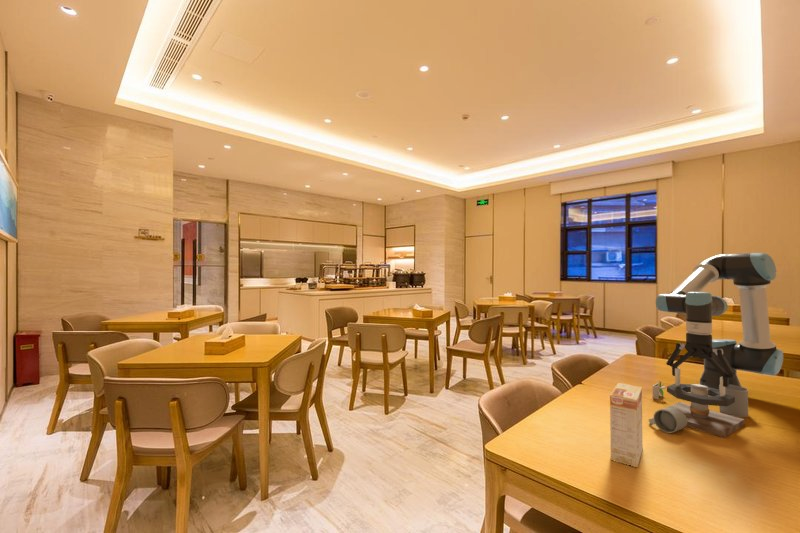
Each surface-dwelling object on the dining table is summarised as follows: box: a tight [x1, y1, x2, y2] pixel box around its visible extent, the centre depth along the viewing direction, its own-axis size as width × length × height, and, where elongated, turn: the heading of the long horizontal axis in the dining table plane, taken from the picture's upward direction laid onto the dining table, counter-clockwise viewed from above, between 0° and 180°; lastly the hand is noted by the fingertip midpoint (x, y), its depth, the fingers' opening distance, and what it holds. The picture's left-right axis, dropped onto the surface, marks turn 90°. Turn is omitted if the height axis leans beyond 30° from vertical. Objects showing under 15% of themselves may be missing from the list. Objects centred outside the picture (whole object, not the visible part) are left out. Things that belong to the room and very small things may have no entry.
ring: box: [666, 383, 735, 407], centre depth 135 cm, size 18×18×2 cm
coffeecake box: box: [609, 382, 644, 468], centre depth 110 cm, size 15×7×20 cm, turn 141°
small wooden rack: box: [652, 380, 667, 400], centre depth 159 cm, size 4×7×8 cm, turn 127°
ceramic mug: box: [648, 407, 687, 434], centre depth 128 cm, size 11×8×8 cm
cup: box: [718, 385, 749, 418], centre depth 142 cm, size 8×8×10 cm
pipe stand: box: [664, 383, 746, 439], centre depth 134 cm, size 20×20×13 cm
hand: (699, 390), depth 135 cm, fingers open, 13 cm apart
